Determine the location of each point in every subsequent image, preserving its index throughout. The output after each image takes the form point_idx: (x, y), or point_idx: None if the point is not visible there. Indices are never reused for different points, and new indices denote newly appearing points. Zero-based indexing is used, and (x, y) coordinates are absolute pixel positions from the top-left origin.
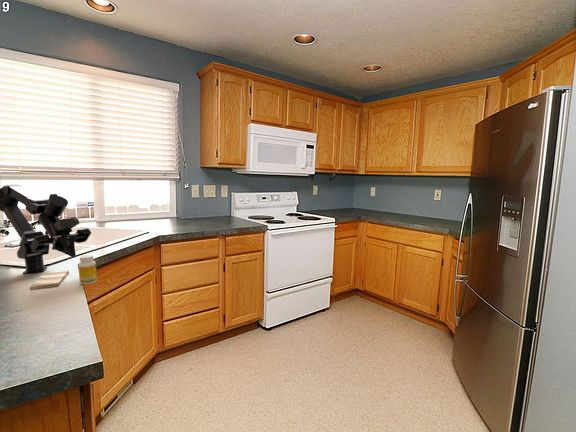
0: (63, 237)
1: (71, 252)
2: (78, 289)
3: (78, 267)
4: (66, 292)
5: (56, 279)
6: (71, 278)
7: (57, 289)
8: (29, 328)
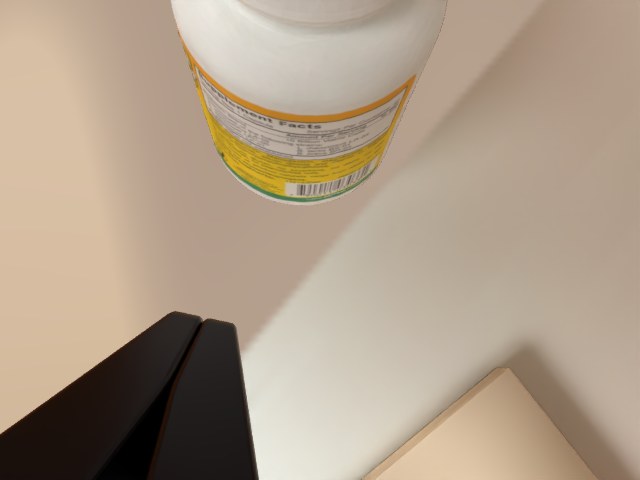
0: None
1: (228, 385)
2: (519, 46)
3: (420, 71)
4: (620, 94)
5: None
6: None
7: (585, 270)
8: None
